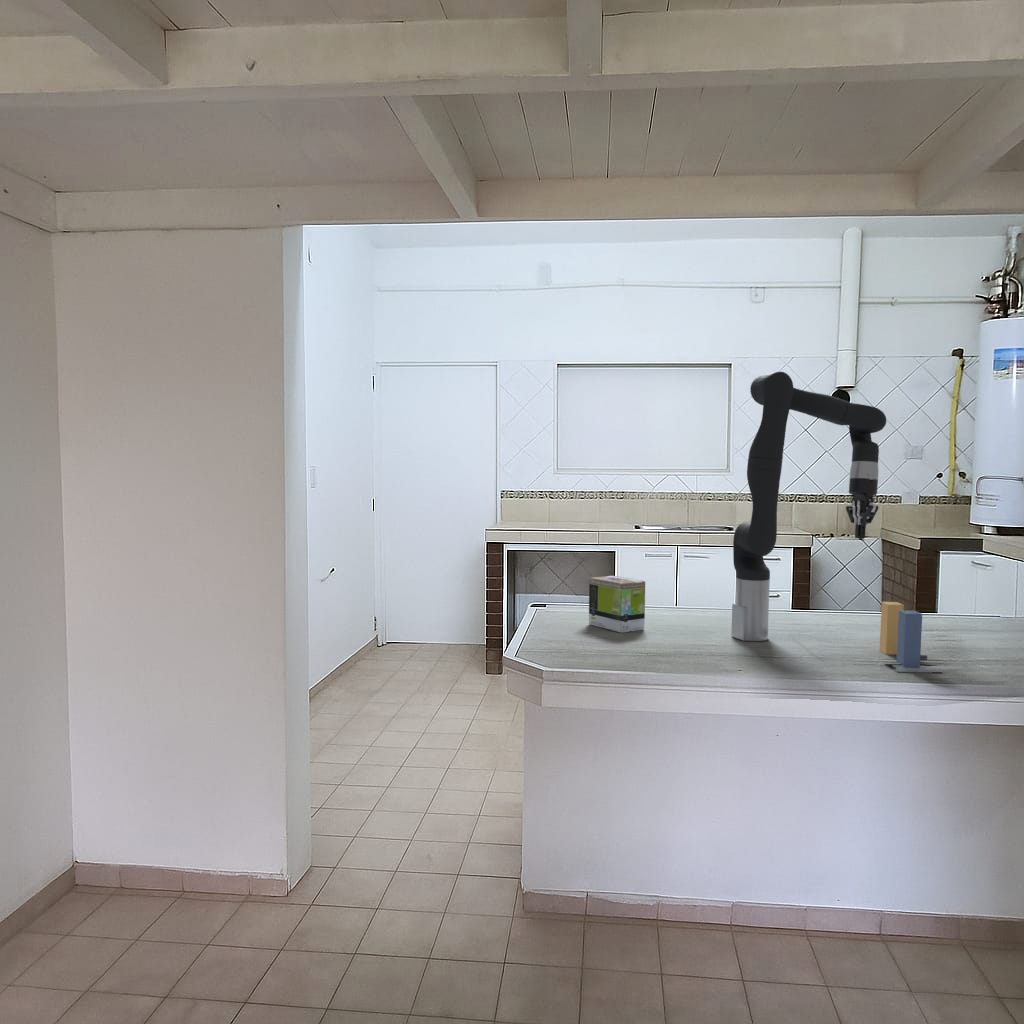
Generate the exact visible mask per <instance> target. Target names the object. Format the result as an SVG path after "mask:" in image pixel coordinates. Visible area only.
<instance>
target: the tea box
mask: <svg viewBox="0 0 1024 1024" xmlns="http://www.w3.org/2000/svg"><path fill="white" fill-rule="evenodd" d="M588 579H589V580H588V581H589V586H588V587H589V588H588V591H589V592H588V624H589V625H591V626H594V627H598V628H603V629H606V630H610V631H613V632H618V633H629V632H630V631H631V632H637V630H638V631H643V630H644V629H645V619H646V617H645V616H646V615H645V614H646V613H645V612H646V581H645V580H641V579H639V580H638V579H634V578H628V577H622V576H616V575H607V576H593V577H589V578H588Z"/></svg>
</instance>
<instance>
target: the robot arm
mask: <svg viewBox="0 0 1024 1024" xmlns="http://www.w3.org/2000/svg"><path fill="white" fill-rule="evenodd" d="M750 396H751V398H752V399H753V400H754V402H756V403H757V404H759V405H761V406H762V416H761V421H760V424H759V428H758V430H757V431H756V432H757V433H756V434H755V436H754V438H753V440H752V443H751V445H750V448H749V451H748V458H747V466H746V467H747V469H746V478H747V483H748V488H749V493H750V495H751V501H752V511H751V519H750V520H747V521H743V522H742V523H740V524H738V526H737V527H736V528H735V530H734V533H733V541H732V543H733V544H732V547H733V551H732V552H733V554H732V555H733V567H734V570H735V597H734V598H735V599H734V601H735V602H734V603H732V604H731V605H732V607H731V637H733V638H734V639H737V640H740V641H743V642H745V641H746V642H764V641H767V640H768V638H769V614H770V613H769V612H770V611H769V610H770V609H769V608H770V586H771V585H770V584H771V581H770V579H771V571H770V568H769V567H768V566H767V564H766V563H765V560H764V557H765V556H768V555H769V554H771V552H773V550H774V548H775V546H776V544H777V536H778V535H777V533H778V532H777V531H778V525H777V524H778V523H777V522H778V504H779V503H778V501H779V491H780V481H781V477H782V476H781V474H782V468H783V457H784V447H785V438H786V433H787V432H786V431H787V424H788V419H789V415H790V411H794V412H799V413H802V414H805V415H808V416H811V417H815V418H817V419H820V420H823V421H826V422H830V423H831V424H834V425H838V426H848V432H849V437H850V442H851V445H852V452H851V454H852V455H851V465H850V470H849V484H848V494H850V495H852V497H851V501H850V502H851V503H850V505H847V506H845V510H846V513H847V515H848V518H849V520H850V523H853V524H854V525H855V527H854V528H855V529H854V538H855V539H859V540H860V539H865V538H866V528H867V526H868V524H871V523H872V521H873V520H874V518H875V515H876V514H877V512H878V510H879V505H875V504H874V496H877V494H878V483H879V453H880V452H879V451H880V447H879V445H878V443H877V442H874V441H873V440H872V434H875V433H879V432H881V430H883V429H884V428H885V427H886V425H887V416H886V414H885V413H884V412H883V411H882V410H881V409H879V408H878V407H875V406H873V405H866V404H861V403H853V402H850V401H847V400H845V399H841V398H839V397H836V396H833V395H830V394H829V395H828V394H824V393H818V392H813V391H807V390H804V389H803V390H802V389H799V388H797V387H794V383H793V380H792V378H791V376H790V375H789V374H788V373H787V372H784V371H781V370H780V371H778V370H777V371H773V372H772V371H770V372H767V373H762V374H760V375H759V376H757V377H755V379H754V380H752V382H751V383H750Z"/></svg>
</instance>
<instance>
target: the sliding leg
mask: <svg viewBox="0 0 1024 1024" xmlns="http://www.w3.org/2000/svg"><path fill="white" fill-rule="evenodd" d="M880 608H881V610H880V612H881V613H880V614H881V615H880V633H879V634H880V635H879V636H880V637H879V652H881V653H882V654H884V655H892V656H893V655H896V656H897V640H898V617H899V610H901V611H905V610H904V608H905V607H904V604H902V603H900V602H899V601H898V602H897V601H881V607H880Z"/></svg>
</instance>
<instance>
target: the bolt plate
mask: <svg viewBox="0 0 1024 1024" xmlns="http://www.w3.org/2000/svg"><path fill="white" fill-rule="evenodd" d="M884 665H885V666H887V667H888V668H889V669H891V670H893V671H894V672H895V673H932V672H942V673H943V668H942V667H940V666H939V665H937V664H920V666H903V665H901V664H900V663H884Z"/></svg>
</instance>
